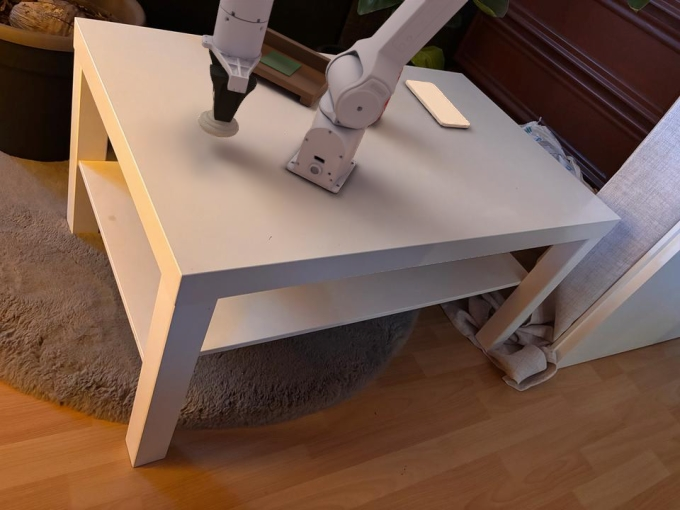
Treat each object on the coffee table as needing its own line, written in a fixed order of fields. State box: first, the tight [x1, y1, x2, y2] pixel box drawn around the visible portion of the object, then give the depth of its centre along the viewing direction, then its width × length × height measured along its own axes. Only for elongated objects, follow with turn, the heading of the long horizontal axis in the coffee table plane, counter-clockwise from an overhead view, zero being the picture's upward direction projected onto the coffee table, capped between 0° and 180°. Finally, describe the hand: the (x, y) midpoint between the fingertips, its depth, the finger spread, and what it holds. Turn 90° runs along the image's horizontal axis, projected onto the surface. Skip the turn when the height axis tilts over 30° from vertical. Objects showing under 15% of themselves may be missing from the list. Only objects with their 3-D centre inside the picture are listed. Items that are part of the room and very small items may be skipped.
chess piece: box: [198, 66, 240, 139], centre depth 72 cm, size 5×5×9 cm
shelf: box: [252, 26, 332, 108], centre depth 94 cm, size 10×16×5 cm, turn 71°
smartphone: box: [405, 79, 471, 129], centre depth 109 cm, size 7×1×15 cm
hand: (221, 111), depth 73 cm, fingers closed on chess piece, 3 cm apart
